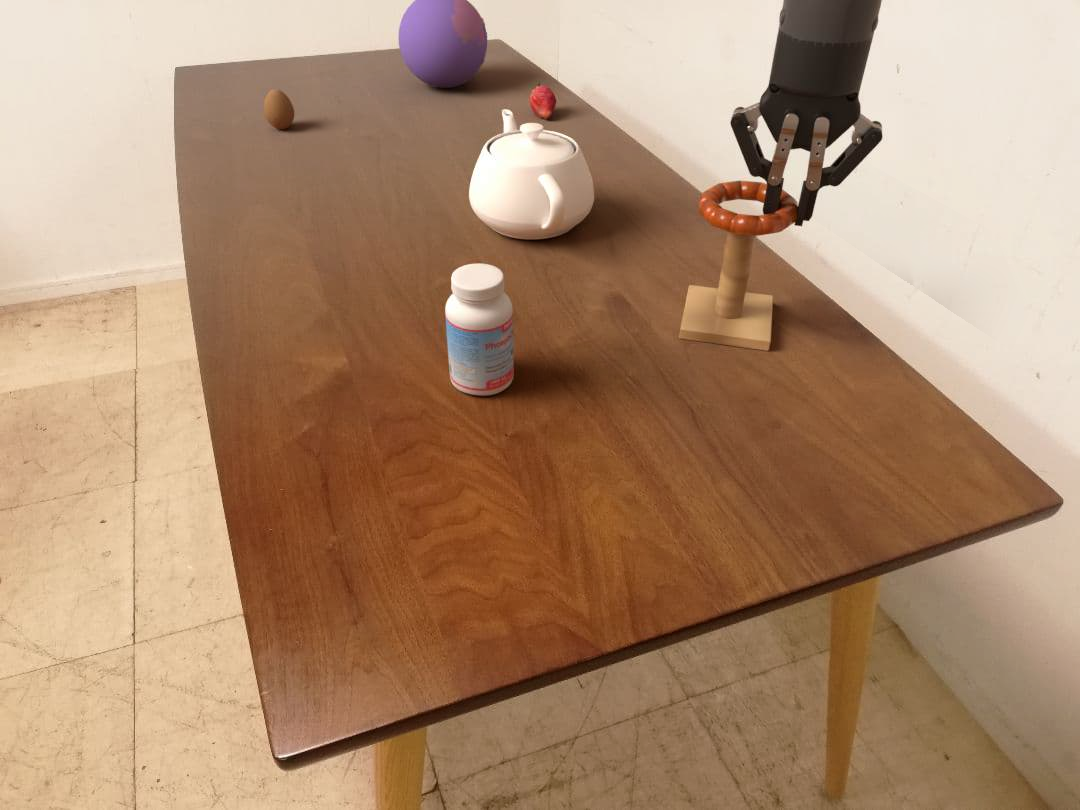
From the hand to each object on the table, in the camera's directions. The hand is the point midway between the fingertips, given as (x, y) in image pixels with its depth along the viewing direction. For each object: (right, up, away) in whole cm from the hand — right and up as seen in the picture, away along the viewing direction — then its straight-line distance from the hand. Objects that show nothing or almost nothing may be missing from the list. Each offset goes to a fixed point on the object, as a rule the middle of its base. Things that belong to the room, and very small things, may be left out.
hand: (785, 219), depth 78 cm
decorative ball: (-40, +38, +67) cm, 87 cm away
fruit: (-23, +29, +55) cm, 67 cm away
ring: (-3, +1, 0) cm, 4 cm away
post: (-4, -9, +9) cm, 13 cm away
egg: (-64, +25, +50) cm, 85 cm away
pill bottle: (-29, -15, +1) cm, 33 cm away
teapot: (-25, +6, +27) cm, 37 cm away
